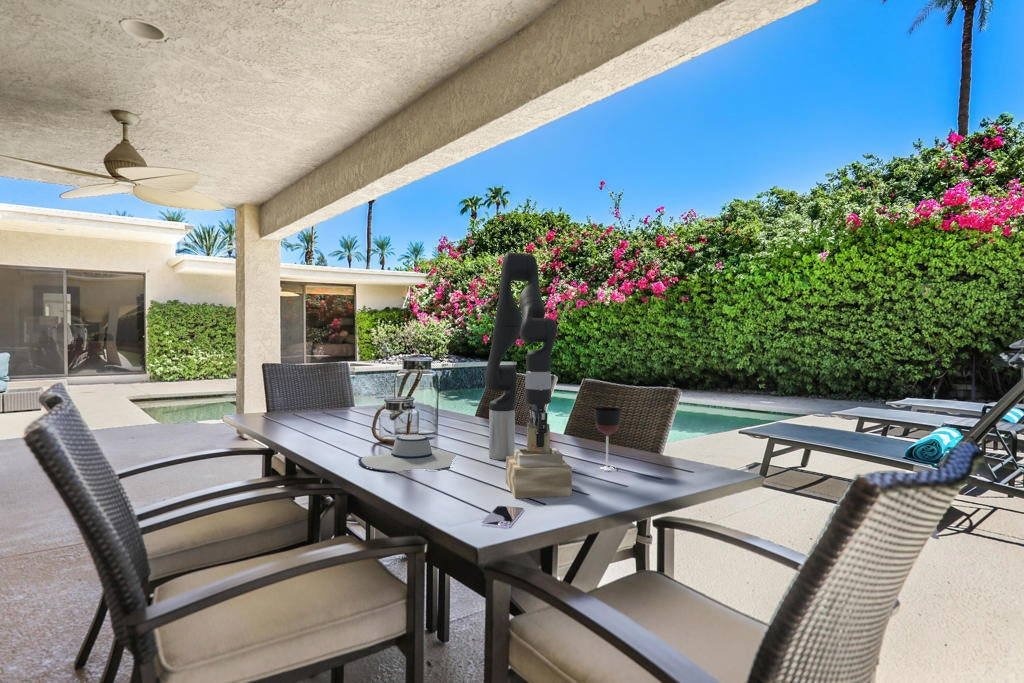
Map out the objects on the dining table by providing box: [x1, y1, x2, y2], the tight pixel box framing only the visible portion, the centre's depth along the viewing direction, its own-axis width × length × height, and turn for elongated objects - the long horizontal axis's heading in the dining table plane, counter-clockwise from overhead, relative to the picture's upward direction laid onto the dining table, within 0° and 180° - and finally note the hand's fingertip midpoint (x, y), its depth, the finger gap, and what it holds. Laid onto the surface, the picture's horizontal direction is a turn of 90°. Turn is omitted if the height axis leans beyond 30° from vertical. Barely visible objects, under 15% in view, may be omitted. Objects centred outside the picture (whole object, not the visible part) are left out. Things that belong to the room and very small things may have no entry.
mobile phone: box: [479, 505, 525, 529], centre depth 145 cm, size 8×1×15 cm
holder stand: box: [505, 447, 573, 499], centre depth 170 cm, size 16×16×11 cm
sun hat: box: [357, 434, 456, 473], centre depth 205 cm, size 36×36×9 cm
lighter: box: [526, 416, 551, 453], centre depth 170 cm, size 7×4×10 cm, turn 62°
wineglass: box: [593, 406, 622, 470], centre depth 194 cm, size 8×9×20 cm
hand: (537, 444), depth 170 cm, fingers closed on lighter, 5 cm apart
